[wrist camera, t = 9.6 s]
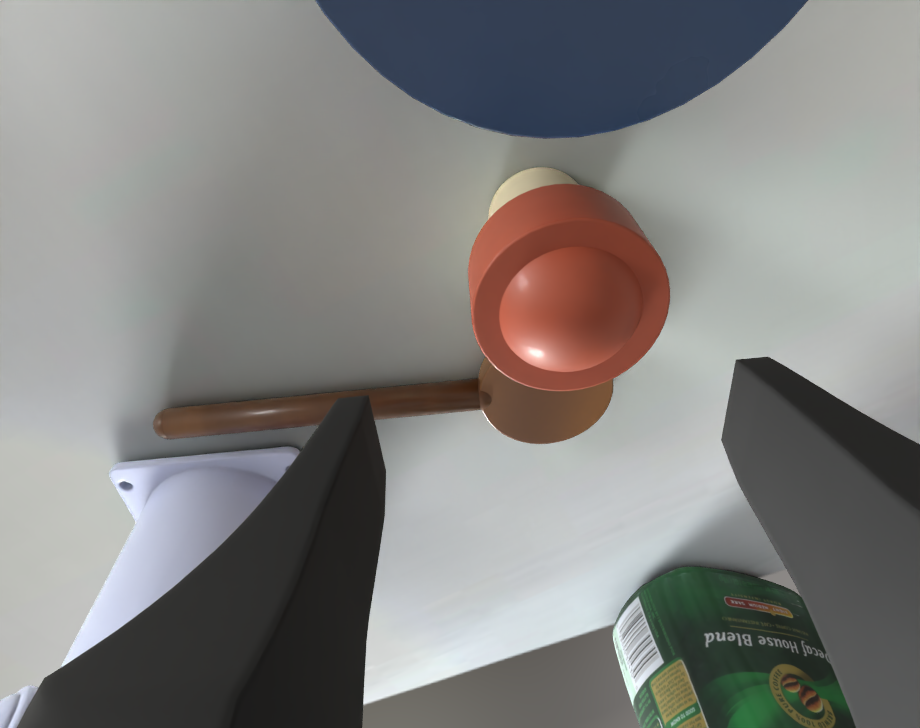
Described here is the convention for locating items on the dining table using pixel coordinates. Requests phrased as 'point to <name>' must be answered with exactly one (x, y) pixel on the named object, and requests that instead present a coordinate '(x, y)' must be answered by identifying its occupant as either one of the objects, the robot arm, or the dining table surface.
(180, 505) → the robot arm
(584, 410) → the spoon
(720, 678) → the coffee jar
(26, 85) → the dining table surface
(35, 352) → the dining table surface
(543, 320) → the toy mushroom
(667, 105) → the pot lid
